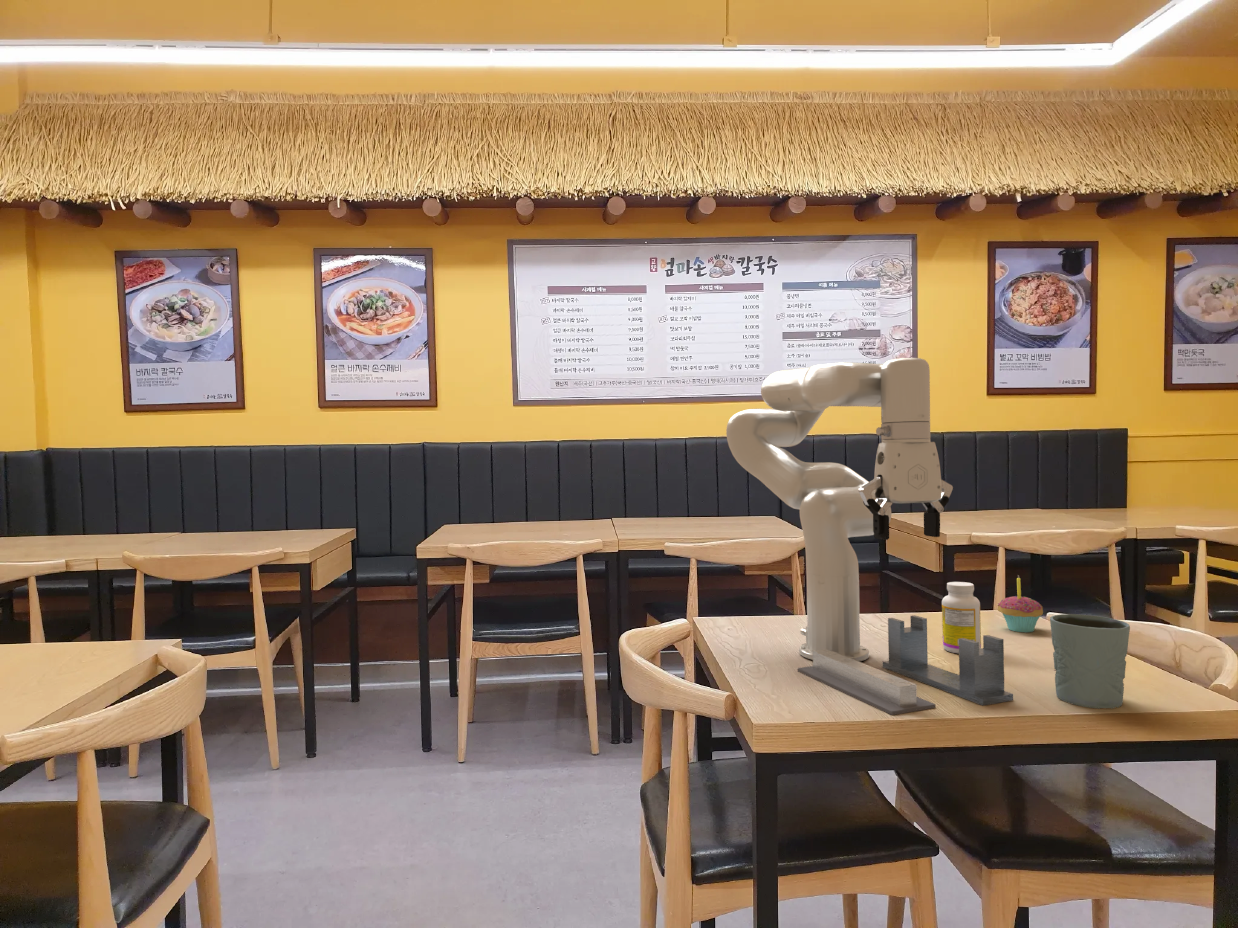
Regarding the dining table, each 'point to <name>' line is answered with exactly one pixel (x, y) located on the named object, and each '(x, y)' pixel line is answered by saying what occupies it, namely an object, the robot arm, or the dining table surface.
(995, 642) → the rack
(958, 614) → the supplement bottle
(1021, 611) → the cupcake
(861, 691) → the mat
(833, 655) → the rail
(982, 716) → the dining table surface
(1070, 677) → the green planter pot
